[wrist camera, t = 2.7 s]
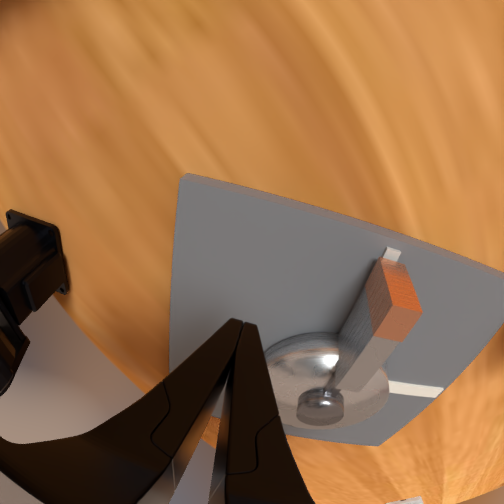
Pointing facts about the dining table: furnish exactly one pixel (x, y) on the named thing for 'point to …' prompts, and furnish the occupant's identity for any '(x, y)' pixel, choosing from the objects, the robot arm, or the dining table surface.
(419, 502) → the external hard drive
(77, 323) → the dining table surface
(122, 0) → the dining table surface
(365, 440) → the plate
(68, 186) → the dining table surface
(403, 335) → the dial
